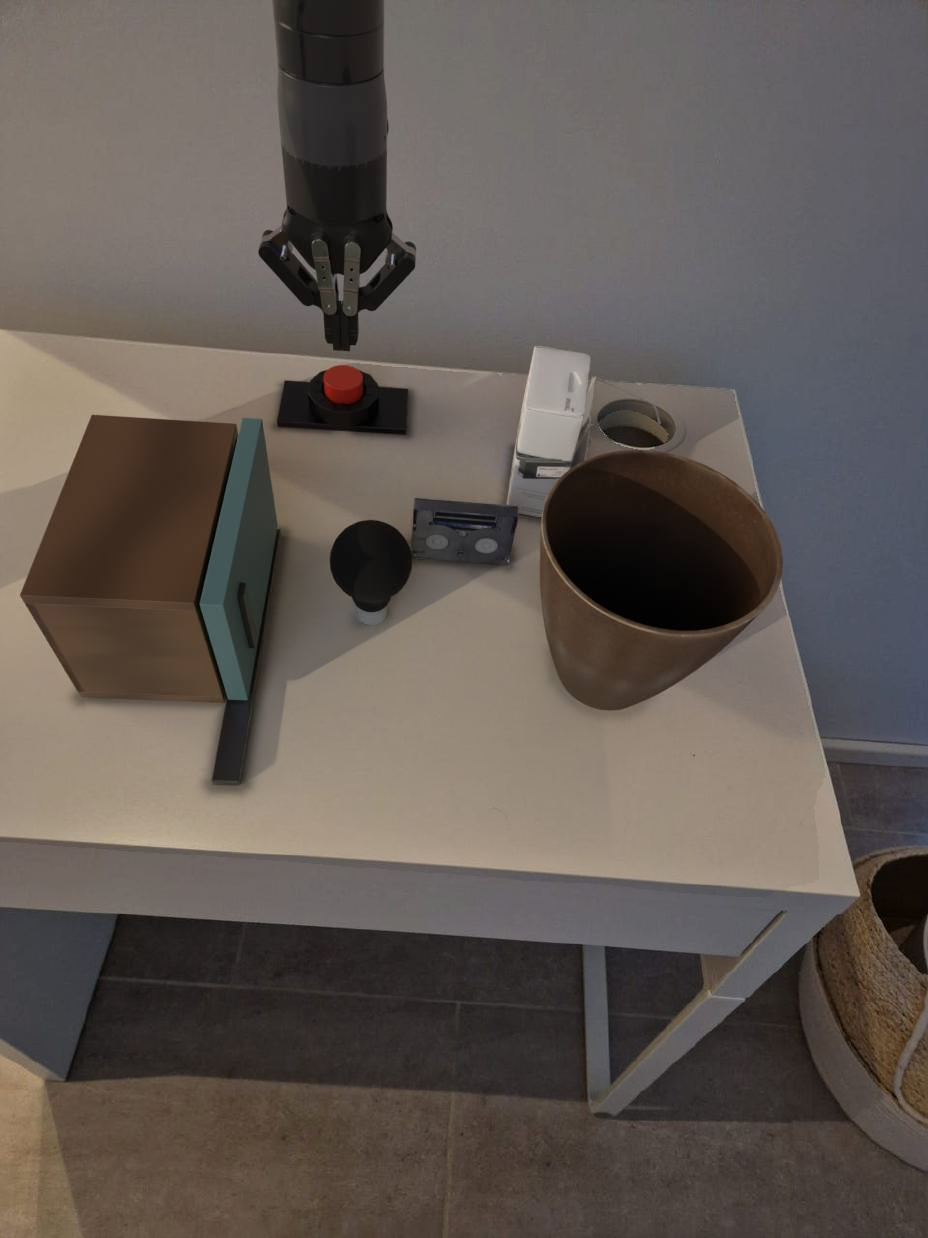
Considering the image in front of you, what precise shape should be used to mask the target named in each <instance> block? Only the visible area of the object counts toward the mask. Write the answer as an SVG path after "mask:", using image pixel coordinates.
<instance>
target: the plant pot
mask: <svg viewBox="0 0 928 1238" xmlns="http://www.w3.org/2000/svg"><path fill="white" fill-rule="evenodd" d="M540 522H541V523H540V540H539V542H540V544H539V585H540V601H541V610H542V611H541V612H542V618H543V624H544V625H543V626H544V630H545V635H546V641H547V645H548V648H549V652H550V655H551V658H552V661H553V665H554V668H555V671H556V673H557V676H558V678H559V680H560V682H561V684H562V686H563V688H564V689H565V691H567V692H568V694H570V696H572V697H573V699H576V701H578V702H579V703H582V704H584V705H586V706H588V707H590V708H593V709H595V710H596V709H597V710H601V711H620V710H624V709H627V708H630V707H632V706H636V705H638V704H640V703H642V702H643V703H644V702H646V701H647V700H649V699H651V698H654V697H655V696H657V695H659V694H661V693H663V692H665V691H666V690H668V689H670V688H672V687H673V686H675V685H676V684H679V683H680V682H681V681H683V680H684V679H686V678H687V677H689V676H691V675H692V674H693V673H695V672H696V671H698V670H699V669H700V668H702V667H703V666H704V665H705V664H707V663H708V662H709V661H710V660H712V659H713V658H714V657H716V656H717V655H718V654H719V653H720V652H721V651H722V650H724V649H725V648H726V647H727V646H729V644H731V642H732V641H734V640H735V639H736V638H737V637H738V636H739V635H740V634H741V633H742V632H743V631H744V630H745V629H747V627H748V626H749V625H750V624H751V623H752V622H753V621H754V620H755V619H756V618H757V617H758V616H759V615H760V614H761V613H762V612H763V611H764V610H765V609H766V608H767V607H768V605H769V604H770V603H771V602H772V600H773V598H774V597H775V595H776V594H777V592H778V589H779V587H780V585H781V581H782V577H783V572H784V571H783V569H784V557H783V549H782V545H781V544H782V543H781V541H780V538H779V535H778V533H777V530H776V528H775V526H774V524H773V522H772V521H771V518H770V517H769V515H768V514H767V513H766V512H765V510H764V509H763V507H762V506H761V505H760V504H759V502H758V501H757V500H756V499H755V498H754V497H752V495H750V493H748V491H746V490H745V489H744V488H743V487H742V486H740V485H739V484H738V483H736V482H735V481H734V480H732V479H731V478H730V477H728V476H726V475H725V474H723V473H721V472H720V471H718V470H716V469H714V468H712V467H710V466H708V465H706V464H704V463H701V462H699V461H697V460H694V459H691V458H688V457H685V456H681V455H677V454H673V453H669V452H664V451H658V450H646V449H626V450H624V449H623V450H617V451H611V452H606V453H602V454H598V455H595V456H593V457H590V458H588V459H587V458H586V460H585V461H583V462H581V463H579V464H577V465H576V466H574V467H572V468H571V469H570V470H568V471H567V472H566V473H565V474H564V475H562V476H561V477H560V478H559V480H558V481H557V482H556V483H555V484H554V486H553V487H552V489H551V490H550V492H549V494H548V496H547V498H546V500H545V504H544V507H543V512H542V518H541V521H540Z"/></svg>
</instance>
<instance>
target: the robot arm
mask: <svg viewBox="0 0 928 1238" xmlns="http://www.w3.org/2000/svg"><path fill="white" fill-rule="evenodd" d="M271 2H272V4H271V5H272V12H273V25H274V36H275V47H276V48H275V49H276V58H277V85H276V86H277V87H276V100H277V113H278V114H277V115H278V125H279V137H280V146H281V159H282V169H283V179H284V190H285V202H286V209H285V210H284V213H283V217H282V221H281V225H280V226H279V227H277V228H276V229H274V230H271V229H266V230H264V231H263V233H262V236H261V239H260V244H259V247H258V251H257V253H258V256H259V258H260V259H261V260H262V261H263V262H264V264H265V265H266V266H267V267H268V268H269V269H270V270H271V271H272V273H274V274H275V275H276V277H277V278H278V279H279V280H280V281H281V282H282V283H283V284H284V286H286V287H287V289H288V290H289V291H290V292H291V293H292V294H293V296H295V297H296V299H297V300H298V301H299V302H300V304H302V305H303V306H304V307H312V306H315V307H316V308H319V309H320V310H321V311H322V315H323V326H324V327H323V329H324V331H323V332H324V339H325V341H326V344H328V345H332V350H333V351H337V352H350V351H351V346H353V347H354V346H356V345H357V343H358V340H359V330H360V326H359V324H360V323H359V313H360V312H361V311H364V310H366V311H369V312H374V311H376V310H378V309H379V308H380V307H381V306H382V304H383V303H385V301H386V300H387V299H388V298H389V297H390V296H391V295H392V293H394V292H395V290H396V289H398V287H399V286H400V285H401V284H402V283H403V282H404V281H405V280H406V279H407V278H408V276H409V275H410V274H412V272H413V271H414V270H415V268H416V264H417V263H416V262H417V246H416V244H415V243H414V242H412V241H405V242H404V241H403V240H401V238H400V237H398V236H397V235H396V234H395V233H394V232H393V229H394V226H393V221H392V220H391V218H390V216H389V214H388V210H387V209H388V208H387V198H388V197H387V195H388V194H387V189H388V186H387V185H388V184H387V183H388V135H389V129H390V128H389V127H390V126H389V119H388V99H387V89H386V88H387V87H386V81H385V0H271ZM293 249H295V250H296V251H297V252H298V254H299V255H300V256H301V257H302V259H303V260H304V261H305V262H306V264H307V265H308V266H309V267H310V268H311V269H313V270H314V271H315V276H316V278H315V277H314V276H313V274H312V273H311V272H310V271H309V270H308V269H307V268H306V266H305V265H304V264H303V263H302V262H301V260H299V258H298V257H297V256H296V255H295V254H294V253H293ZM385 250H386V252H385V259H384V260H385V261H384V263H385V264H383V265H382V267H381V268H380V269H379V270H378V271H377V272H376V273H375V275H374V276H373V277H371V279H370V280H369V281H368V282H367V283H366V285H364V286H361V285H360V284H361V275H362V274H364V273H366V272H367V271H368V270H369V269H370V268H371V267H372V266H373V265H374V263H375V262H376V261H377V260H378V258H380V256H381V255H382V254H383V252H384V251H385ZM338 275H342V276H343V281H342V282H343V285H342V293H343V294H342V300H340V287H339V281H338Z"/></svg>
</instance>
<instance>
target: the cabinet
mask: <svg viewBox="0 0 928 1238" xmlns="http://www.w3.org/2000/svg"><path fill="white" fill-rule="evenodd" d="M238 435H239V430H238V427H237V423H232V422H231V423H230V422H216V421H214V422H213V421H199V420H183V419H182V420H181V419H170V418H169V419H167V418H152V417H151V418H150V417H136V416H118V415H105V414H91V415H90V418H89V421H88V423H87V425H86V428H85V430H84V433H83V436H82V438H81V441H80V443H79V446H78V448H77V451H76V452H75V456H74V458H73V461H72V463H71V466H70V468H69V470H68V473H67V475H66V477H65V480H64V484H63V486H62V488H61V491H60V493H59V496H58V498H57V501H56V503H55V506H54V508H53V511H52V513H51V516H50V518H49V521H48V523H47V526H46V528H45V531H44V533H43V536H42V538H41V541H40V543H39V546H38V549H37V551H36V553H35V556H34V559H33V561H32V564H31V566H30V568H29V571H28V573H27V576H26V578H25V581H24V584H23V586H22V588H21V591H20V593H19V597H20V598H21V600H22V602H23V603H24V605H25V606H26V608H27V610H28V612H29V613H30V615H31V617H32V618H33V620H34V622H35V623H36V625H37V627H38V629H39V630H40V632H41V633H42V635H43V637H44V638H45V640H46V642H47V643H48V645H49V646H50V648H51V650H52V652H53V653H54V655H55V657H56V659H57V660H58V662H59V663H60V665H61V667H62V668H63V670H64V672H65V673H66V675H67V677H68V678H69V680H70V681H71V683H72V685H73V687H74V688H75V690H76V692H77V693H78V695H79V697H80V698H82V699H83V698H84V699H108V700H109V699H110V700H111V699H114V700H115V699H116V700H136V701H137V700H140V701H169V702H170V701H171V702H193V703H195V702H197V703H221V704H223V703H225V706H224V709H223V710H224V711H223V716H222V721H221V727H220V732H219V737H218V742H217V748H216V752H215V759H214V764H213V769H212V774H211V779H210V780H211V785H213V786H234V787H235V786H237V787H238V786H240V785H241V781H242V780H241V779H242V774H243V768H244V763H245V757H246V750H247V743H248V738H249V733H250V726H251V720H252V715H253V714H252V713H253V708H254V702H255V695H256V690H257V683H258V679H259V672H260V666H261V660H262V653H263V649H264V643H265V642H264V641H265V635H266V631H267V623H268V618H269V612H270V611H269V610H270V605H271V599H272V593H273V587H274V580H275V577H276V576H275V575H276V570H277V569H276V568H277V563H278V556H279V550H280V544H281V538H282V529H281V528H277V534H276V540H275V546H274V551H273V557H272V563H271V569H270V575H269V581H268V587H267V592H266V598H265V604H264V610H263V616H262V622H261V628H260V633H259V639H258V645H257V651H256V657H255V663H254V669H253V674H252V680H251V686H250V692H249V698H248V700H229V699H228V697H227V694H226V690H225V687H224V684H223V680H222V677H221V674H220V670H219V667H218V664H217V660H216V657H215V654H214V650H213V647H212V644H211V640H210V637H209V634H208V630H207V627H206V624H205V621H204V617H203V614H202V611H201V607H200V600H201V596H202V592H203V587H204V583H205V579H206V574H207V570H208V566H209V561H210V557H211V553H212V548H213V544H214V540H215V535H216V531H217V527H218V522H219V518H220V514H221V509H222V505H223V501H224V496H225V492H226V487H227V483H228V479H229V474H230V470H231V466H232V461H233V457H234V453H235V448H236V444H237V440H238Z"/></svg>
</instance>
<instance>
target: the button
mask: <svg viewBox="0 0 928 1238" xmlns="http://www.w3.org/2000/svg"><path fill="white" fill-rule="evenodd" d="M326 370H327V371H326V372H325V374H324V392H325V395H326V397H327V398H328V399H329V400H330V401H332V402H334V403H342V404H350V403H353V402H356V401H358V400H360V399H361V397H362V395H363V376H362V373H361V372H360V371H359V370H360V369H359V368H356V367H354V366H352V365H346V364H339V365H334V366H331V367H329V368H328V369H326Z"/></svg>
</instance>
